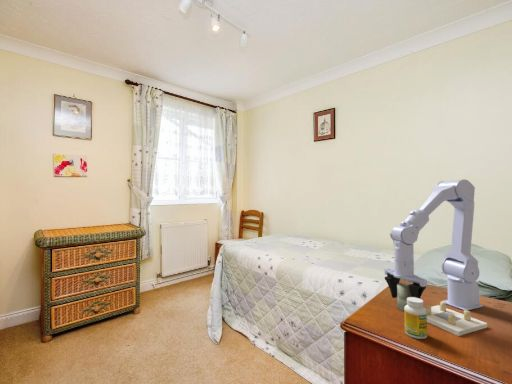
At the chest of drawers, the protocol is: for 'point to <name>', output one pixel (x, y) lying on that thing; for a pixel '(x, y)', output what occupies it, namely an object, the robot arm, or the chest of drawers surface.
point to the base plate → (453, 320)
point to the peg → (402, 295)
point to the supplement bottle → (415, 318)
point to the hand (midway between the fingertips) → (404, 301)
